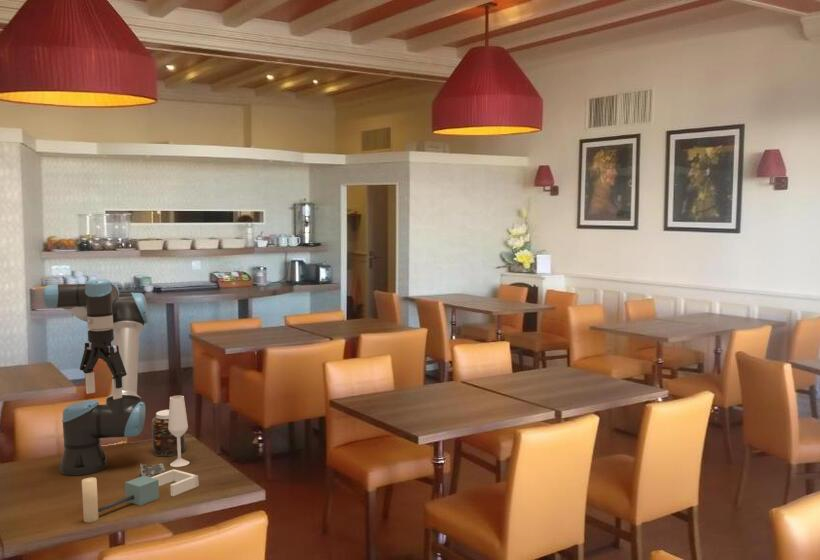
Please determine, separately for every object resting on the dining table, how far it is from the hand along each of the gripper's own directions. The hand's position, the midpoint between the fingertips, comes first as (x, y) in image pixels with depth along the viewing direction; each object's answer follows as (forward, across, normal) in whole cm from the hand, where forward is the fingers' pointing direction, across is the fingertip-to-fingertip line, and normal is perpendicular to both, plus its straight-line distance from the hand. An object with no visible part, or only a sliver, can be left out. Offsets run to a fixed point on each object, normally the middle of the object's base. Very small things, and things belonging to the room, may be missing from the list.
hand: (104, 395), depth 245 cm
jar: (+32, -17, +38) cm, 53 cm away
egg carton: (+32, 0, +17) cm, 37 cm away
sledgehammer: (+32, +14, -6) cm, 35 cm away
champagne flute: (+32, -3, +31) cm, 45 cm away
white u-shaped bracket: (+32, +14, +14) cm, 37 cm away
